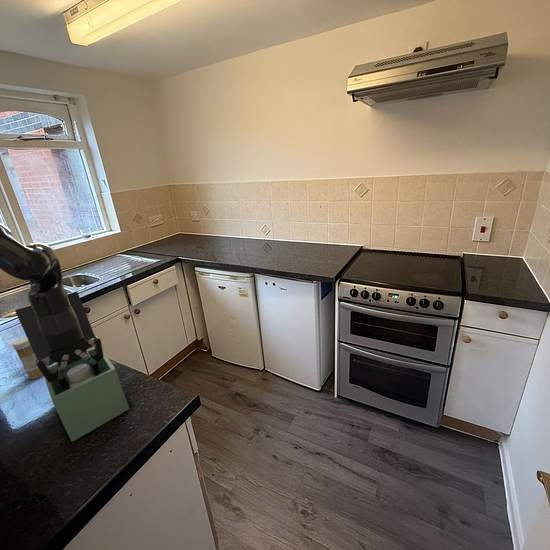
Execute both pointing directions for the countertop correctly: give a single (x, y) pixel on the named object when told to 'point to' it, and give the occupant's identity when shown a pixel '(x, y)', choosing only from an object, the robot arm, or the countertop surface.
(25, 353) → the sprinkles bottle
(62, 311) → the robot arm
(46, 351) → the pod lid
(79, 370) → the pill bottle
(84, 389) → the mint green storage bin
